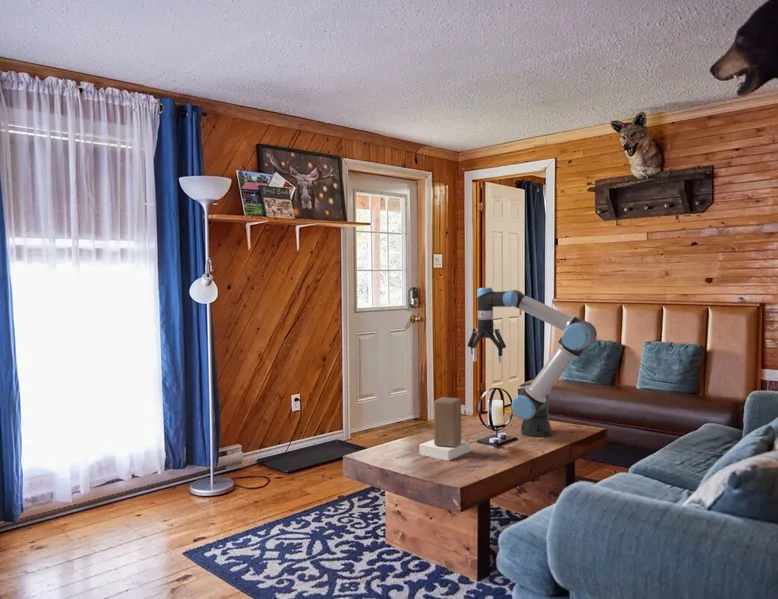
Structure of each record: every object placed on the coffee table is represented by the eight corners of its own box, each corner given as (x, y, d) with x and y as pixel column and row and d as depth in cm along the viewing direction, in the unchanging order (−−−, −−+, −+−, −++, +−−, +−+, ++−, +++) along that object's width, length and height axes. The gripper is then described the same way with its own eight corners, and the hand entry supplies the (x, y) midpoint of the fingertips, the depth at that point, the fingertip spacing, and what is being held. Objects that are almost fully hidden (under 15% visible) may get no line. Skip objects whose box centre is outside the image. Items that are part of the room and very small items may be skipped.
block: (455, 447, 266) (455, 402, 265) (433, 445, 270) (433, 400, 269) (461, 442, 275) (461, 398, 274) (440, 440, 279) (440, 396, 278)
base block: (469, 453, 274) (469, 442, 274) (448, 462, 263) (448, 450, 262) (441, 447, 285) (440, 436, 285) (419, 455, 273) (419, 444, 273)
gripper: (460, 319, 306) (461, 361, 307) (504, 319, 291) (505, 364, 291) (467, 318, 312) (469, 359, 313) (512, 318, 296) (513, 362, 297)
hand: (486, 361), depth 302 cm, fingers open, 13 cm apart
